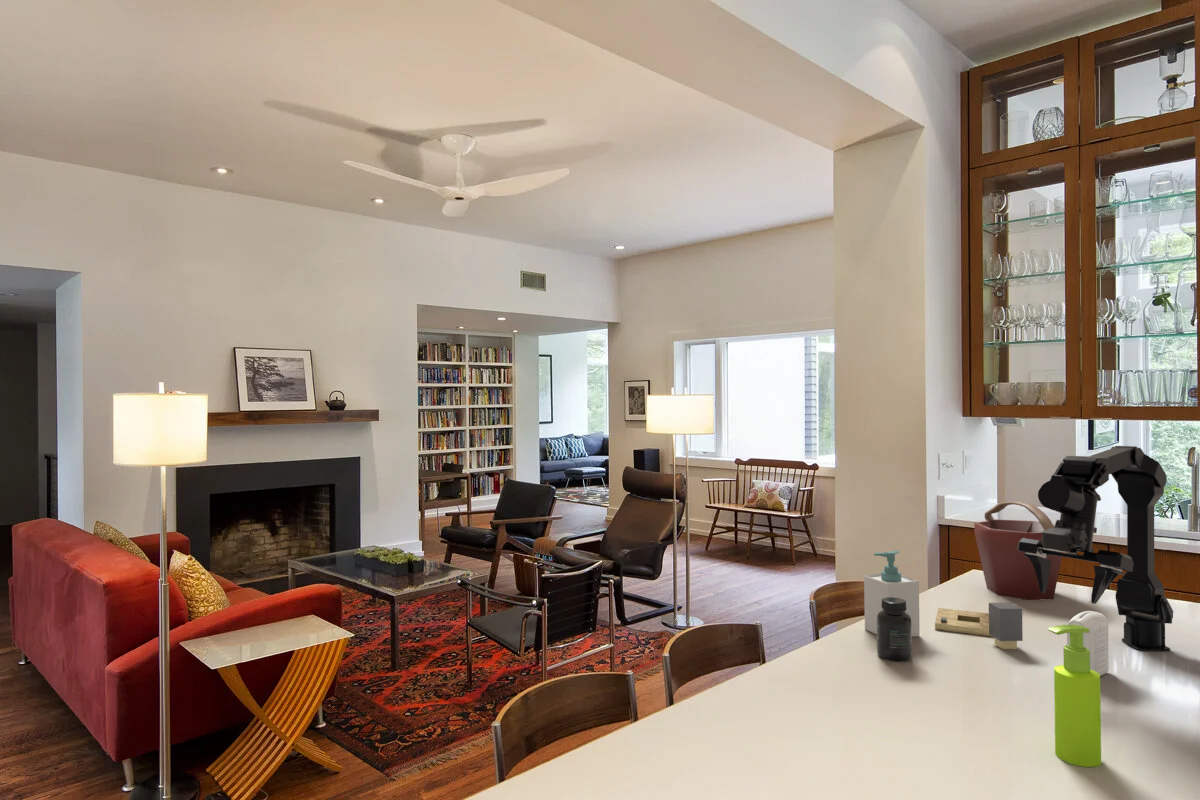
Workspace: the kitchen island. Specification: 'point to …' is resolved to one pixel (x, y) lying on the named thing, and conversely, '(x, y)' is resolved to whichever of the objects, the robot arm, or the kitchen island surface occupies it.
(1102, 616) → the photo printer
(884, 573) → the soap bottle
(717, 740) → the kitchen island surface
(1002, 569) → the bucket
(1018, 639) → the plug
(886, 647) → the supplement bottle
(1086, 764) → the soap dispenser
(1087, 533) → the robot arm
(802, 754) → the kitchen island surface
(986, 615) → the socket
